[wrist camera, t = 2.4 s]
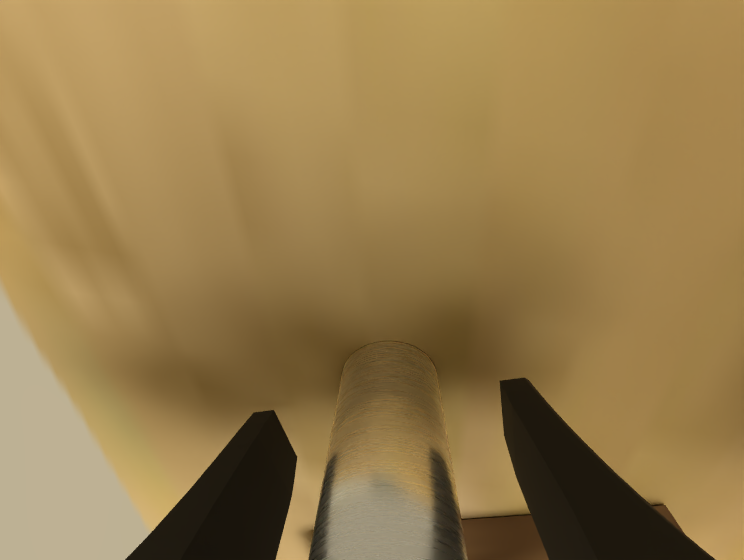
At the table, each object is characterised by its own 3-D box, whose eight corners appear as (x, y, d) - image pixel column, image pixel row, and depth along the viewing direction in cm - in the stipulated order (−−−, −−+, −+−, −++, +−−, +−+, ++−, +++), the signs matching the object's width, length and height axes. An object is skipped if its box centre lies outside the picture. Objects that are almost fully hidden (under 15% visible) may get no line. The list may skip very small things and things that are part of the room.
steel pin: (429, 334, 10) (490, 711, 4) (443, 407, 11) (504, 774, 5) (330, 349, 11) (243, 710, 4) (354, 418, 12) (315, 769, 6)
